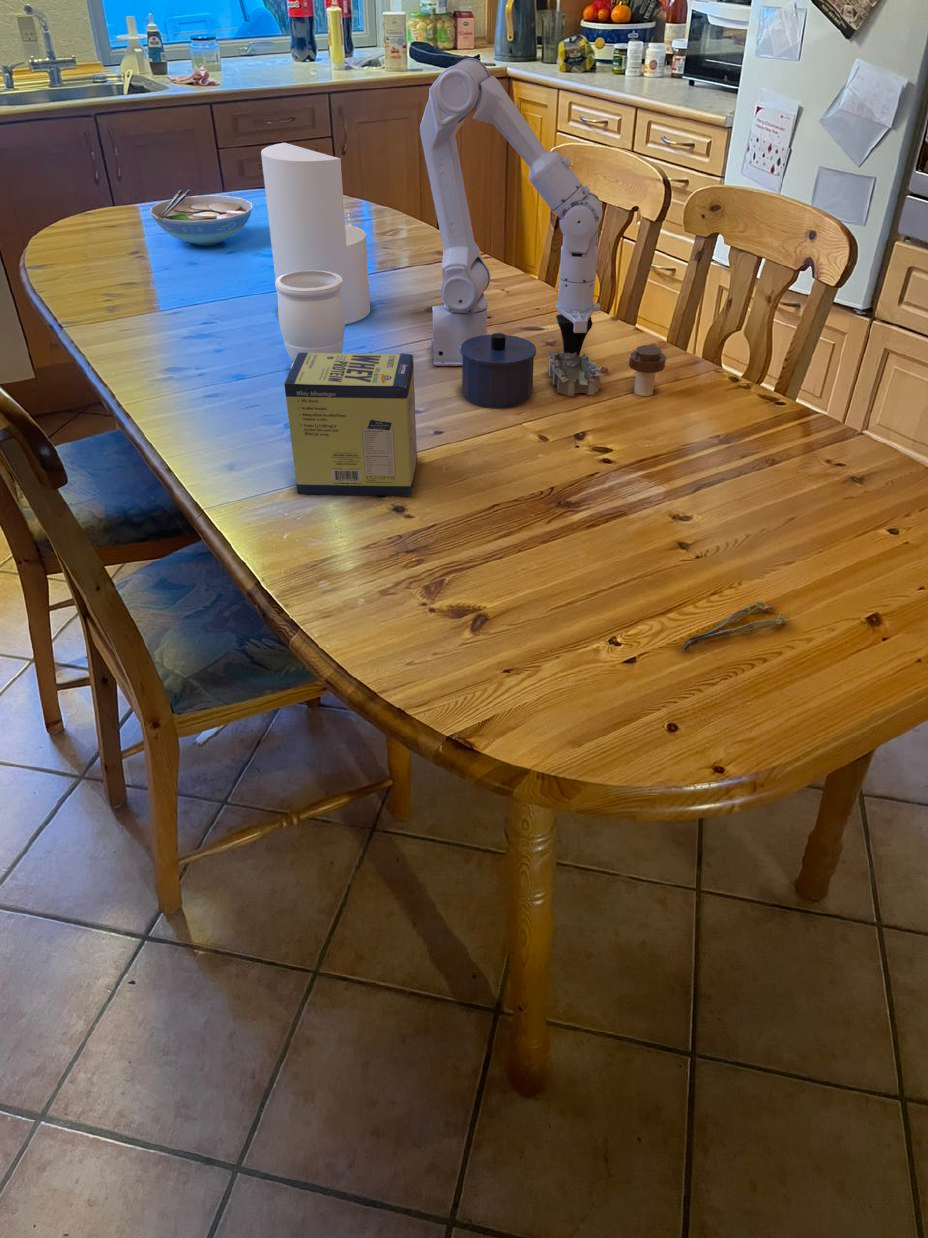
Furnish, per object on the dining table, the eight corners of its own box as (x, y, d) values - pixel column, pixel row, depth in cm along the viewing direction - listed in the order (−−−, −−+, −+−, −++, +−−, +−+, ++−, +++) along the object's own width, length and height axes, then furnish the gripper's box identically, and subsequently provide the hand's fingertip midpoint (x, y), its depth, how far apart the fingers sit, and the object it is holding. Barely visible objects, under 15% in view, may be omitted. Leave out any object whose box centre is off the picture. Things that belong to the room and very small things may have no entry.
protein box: (307, 457, 133) (296, 350, 124) (418, 459, 133) (415, 352, 124) (294, 495, 125) (281, 383, 116) (412, 497, 125) (409, 385, 115)
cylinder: (312, 333, 172) (297, 165, 155) (262, 308, 182) (242, 148, 165) (388, 312, 181) (381, 151, 164) (336, 289, 191) (324, 136, 174)
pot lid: (461, 370, 142) (461, 350, 141) (458, 341, 152) (458, 321, 150) (539, 369, 143) (540, 349, 141) (532, 340, 152) (533, 321, 150)
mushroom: (629, 399, 150) (634, 356, 145) (623, 385, 154) (627, 343, 150) (664, 399, 150) (670, 356, 146) (657, 385, 154) (663, 343, 150)
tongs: (674, 645, 100) (678, 629, 99) (760, 610, 106) (764, 595, 105) (702, 666, 97) (706, 651, 96) (789, 629, 103) (793, 614, 102)
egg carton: (602, 396, 151) (604, 371, 148) (555, 397, 150) (556, 372, 148) (590, 369, 159) (592, 345, 157) (545, 370, 159) (547, 346, 156)
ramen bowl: (245, 257, 208) (240, 218, 203) (141, 256, 208) (134, 217, 203) (266, 226, 228) (262, 190, 223) (171, 226, 228) (164, 189, 223)
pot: (463, 408, 147) (463, 365, 142) (461, 380, 155) (461, 338, 151) (534, 407, 147) (536, 364, 143) (528, 379, 156) (530, 337, 152)
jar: (358, 363, 161) (352, 273, 152) (332, 386, 153) (324, 293, 144) (302, 355, 164) (293, 266, 155) (273, 377, 156) (262, 285, 147)
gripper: (609, 292, 145) (601, 376, 153) (595, 263, 156) (588, 343, 165) (563, 292, 145) (558, 377, 153) (553, 263, 156) (548, 343, 164)
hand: (571, 359), depth 159 cm, fingers closed
